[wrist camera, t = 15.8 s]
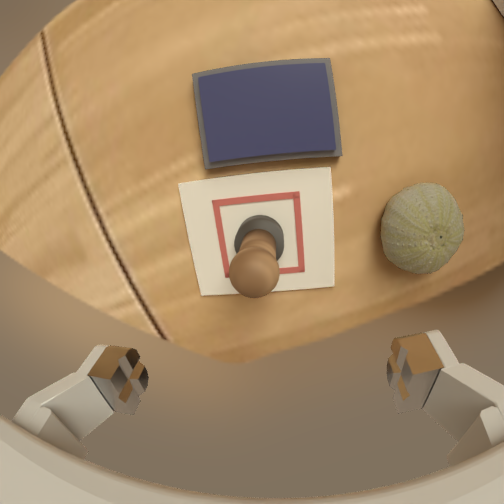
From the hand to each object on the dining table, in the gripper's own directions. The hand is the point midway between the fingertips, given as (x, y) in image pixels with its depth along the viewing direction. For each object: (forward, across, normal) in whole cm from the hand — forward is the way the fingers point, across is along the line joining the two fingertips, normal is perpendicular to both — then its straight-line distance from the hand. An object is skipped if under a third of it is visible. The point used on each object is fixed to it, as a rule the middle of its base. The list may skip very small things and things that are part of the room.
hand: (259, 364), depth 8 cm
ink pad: (+20, 0, -9) cm, 21 cm away
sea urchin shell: (+20, -14, +3) cm, 25 cm away
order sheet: (+19, +2, +3) cm, 20 cm away
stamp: (+19, +2, +3) cm, 19 cm away
